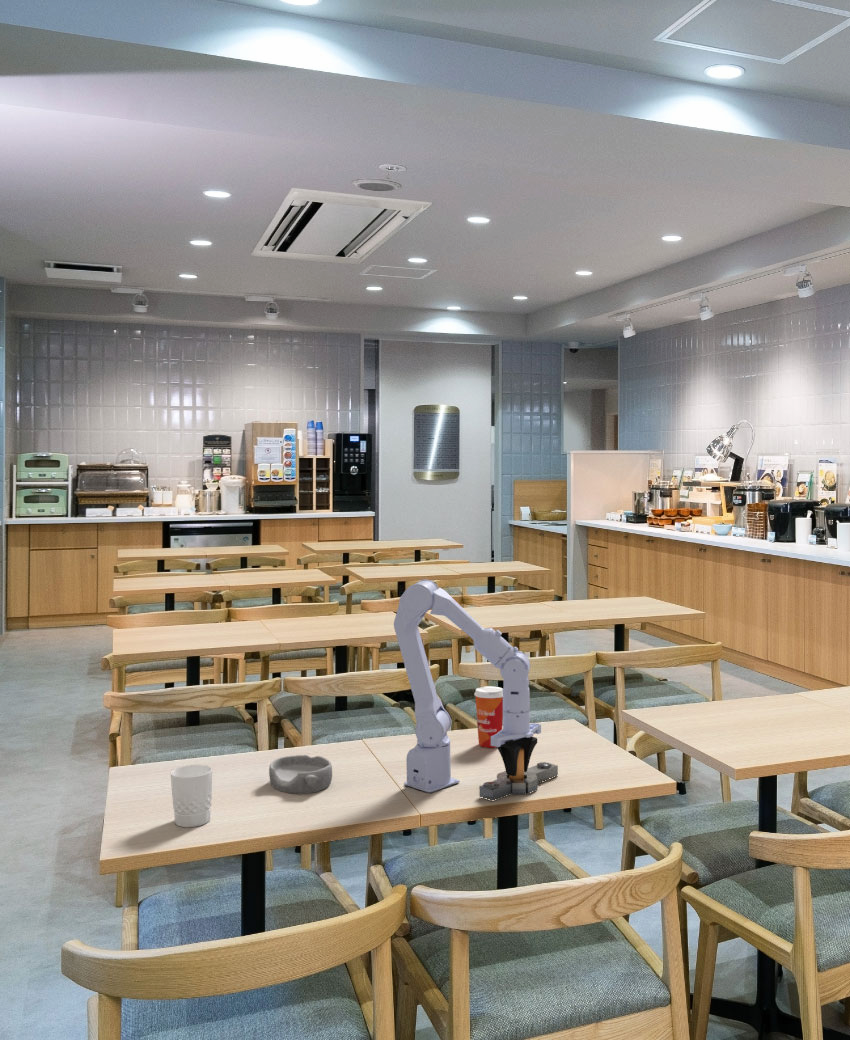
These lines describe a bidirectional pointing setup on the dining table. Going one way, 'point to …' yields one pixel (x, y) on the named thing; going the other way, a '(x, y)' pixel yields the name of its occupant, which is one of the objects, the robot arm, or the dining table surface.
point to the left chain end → (501, 789)
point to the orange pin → (519, 767)
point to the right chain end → (532, 775)
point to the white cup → (191, 794)
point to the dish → (300, 774)
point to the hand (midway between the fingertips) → (516, 772)
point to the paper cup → (489, 713)
